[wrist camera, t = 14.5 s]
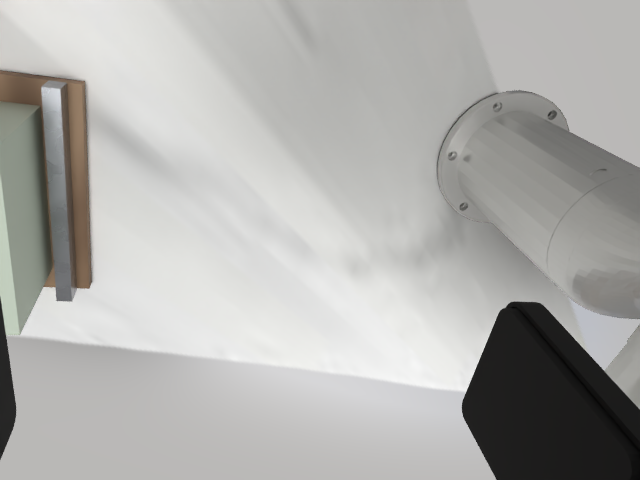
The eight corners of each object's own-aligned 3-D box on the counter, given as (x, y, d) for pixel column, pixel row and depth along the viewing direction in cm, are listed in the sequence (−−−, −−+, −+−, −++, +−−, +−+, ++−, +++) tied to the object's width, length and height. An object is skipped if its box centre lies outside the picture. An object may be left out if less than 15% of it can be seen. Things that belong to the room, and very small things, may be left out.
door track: (84, 81, 38) (76, 91, 36) (91, 282, 47) (84, 301, 44) (-70, 61, 36) (-92, 69, 33) (-34, 276, 44) (-49, 297, 42)
